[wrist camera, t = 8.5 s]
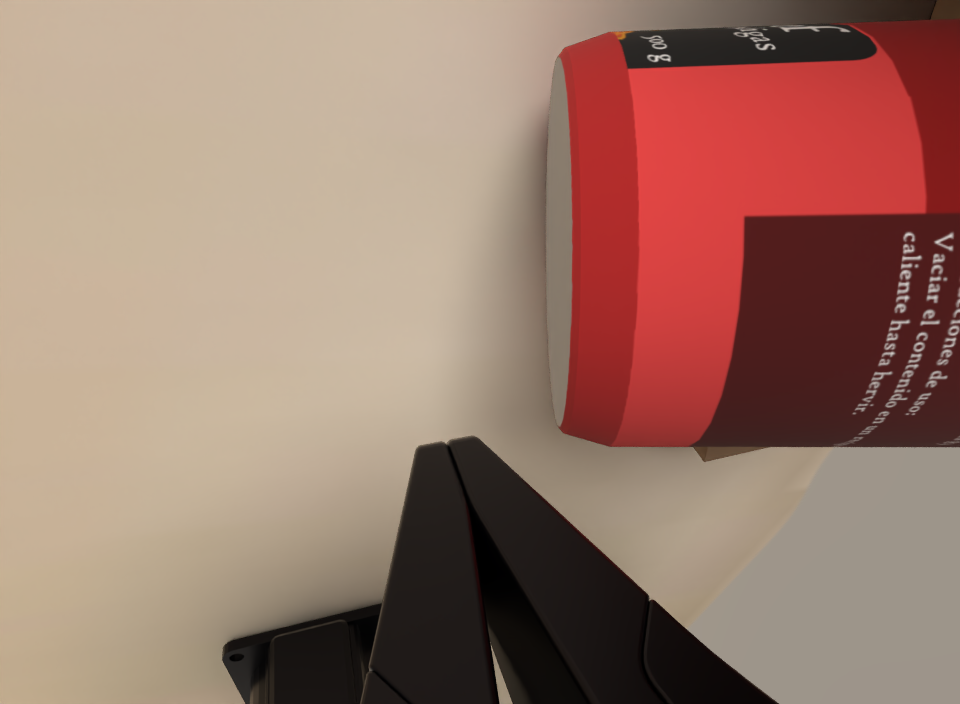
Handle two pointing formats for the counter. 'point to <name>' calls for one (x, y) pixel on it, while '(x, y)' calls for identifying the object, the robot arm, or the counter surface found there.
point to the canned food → (756, 236)
